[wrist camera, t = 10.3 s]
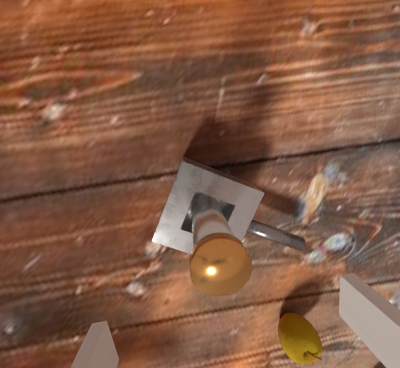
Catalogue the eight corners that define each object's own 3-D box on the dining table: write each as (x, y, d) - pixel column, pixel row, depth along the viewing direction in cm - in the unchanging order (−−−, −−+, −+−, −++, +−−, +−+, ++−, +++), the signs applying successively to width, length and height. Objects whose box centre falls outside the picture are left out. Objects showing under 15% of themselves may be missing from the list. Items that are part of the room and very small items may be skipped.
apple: (309, 311, 38) (341, 355, 30) (289, 334, 39) (315, 384, 31) (284, 297, 36) (310, 341, 29) (264, 322, 37) (284, 370, 30)
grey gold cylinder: (185, 193, 28) (185, 247, 14) (218, 188, 28) (249, 236, 14) (190, 224, 29) (194, 301, 15) (222, 219, 29) (254, 290, 15)
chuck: (158, 220, 31) (151, 241, 25) (183, 156, 29) (182, 160, 23) (272, 258, 34) (292, 285, 28) (301, 202, 32) (330, 218, 26)
